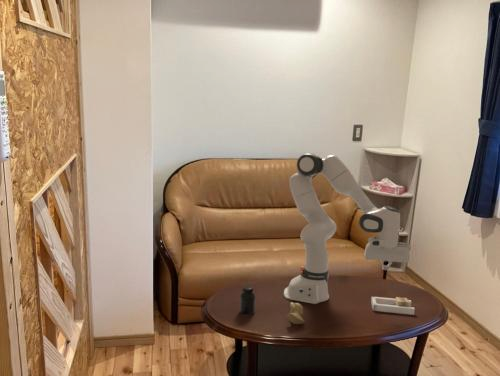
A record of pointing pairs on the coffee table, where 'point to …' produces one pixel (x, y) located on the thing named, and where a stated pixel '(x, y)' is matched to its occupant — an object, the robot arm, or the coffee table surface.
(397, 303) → the block
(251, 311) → the supplement bottle
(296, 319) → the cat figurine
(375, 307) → the channel
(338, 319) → the coffee table surface
